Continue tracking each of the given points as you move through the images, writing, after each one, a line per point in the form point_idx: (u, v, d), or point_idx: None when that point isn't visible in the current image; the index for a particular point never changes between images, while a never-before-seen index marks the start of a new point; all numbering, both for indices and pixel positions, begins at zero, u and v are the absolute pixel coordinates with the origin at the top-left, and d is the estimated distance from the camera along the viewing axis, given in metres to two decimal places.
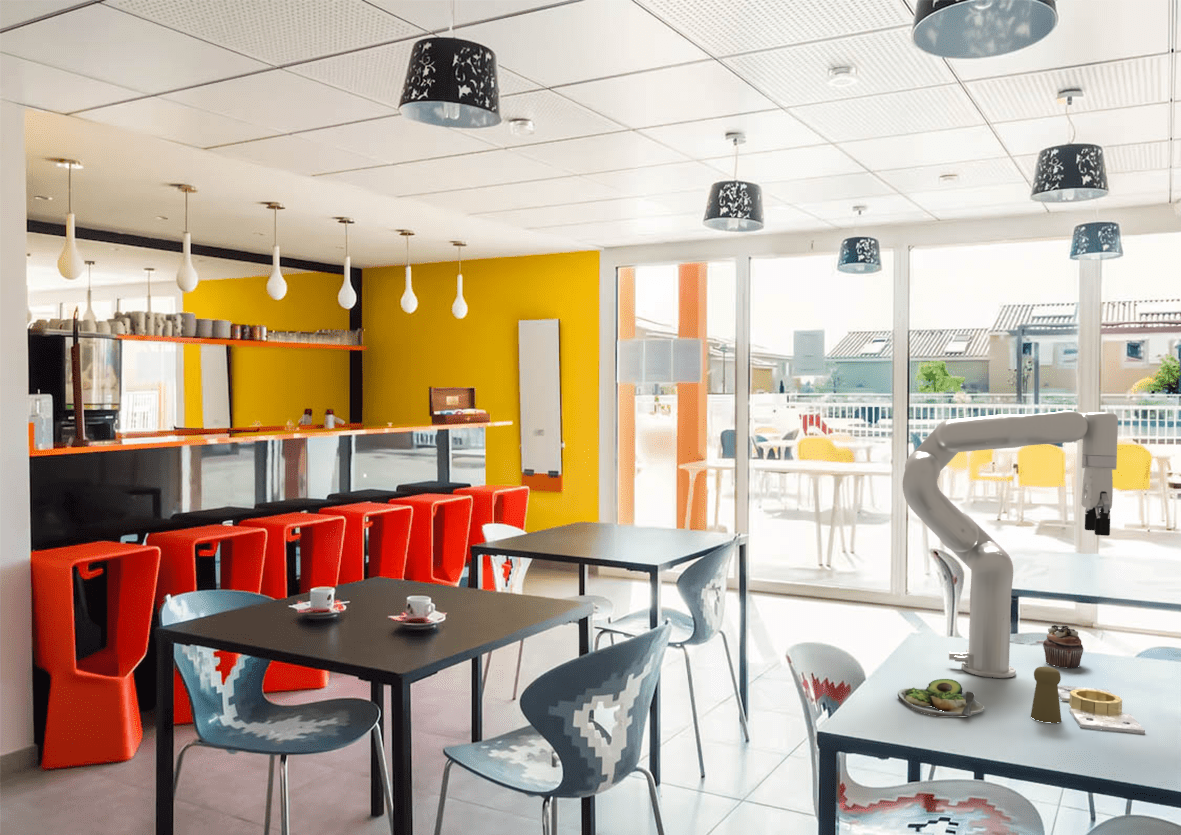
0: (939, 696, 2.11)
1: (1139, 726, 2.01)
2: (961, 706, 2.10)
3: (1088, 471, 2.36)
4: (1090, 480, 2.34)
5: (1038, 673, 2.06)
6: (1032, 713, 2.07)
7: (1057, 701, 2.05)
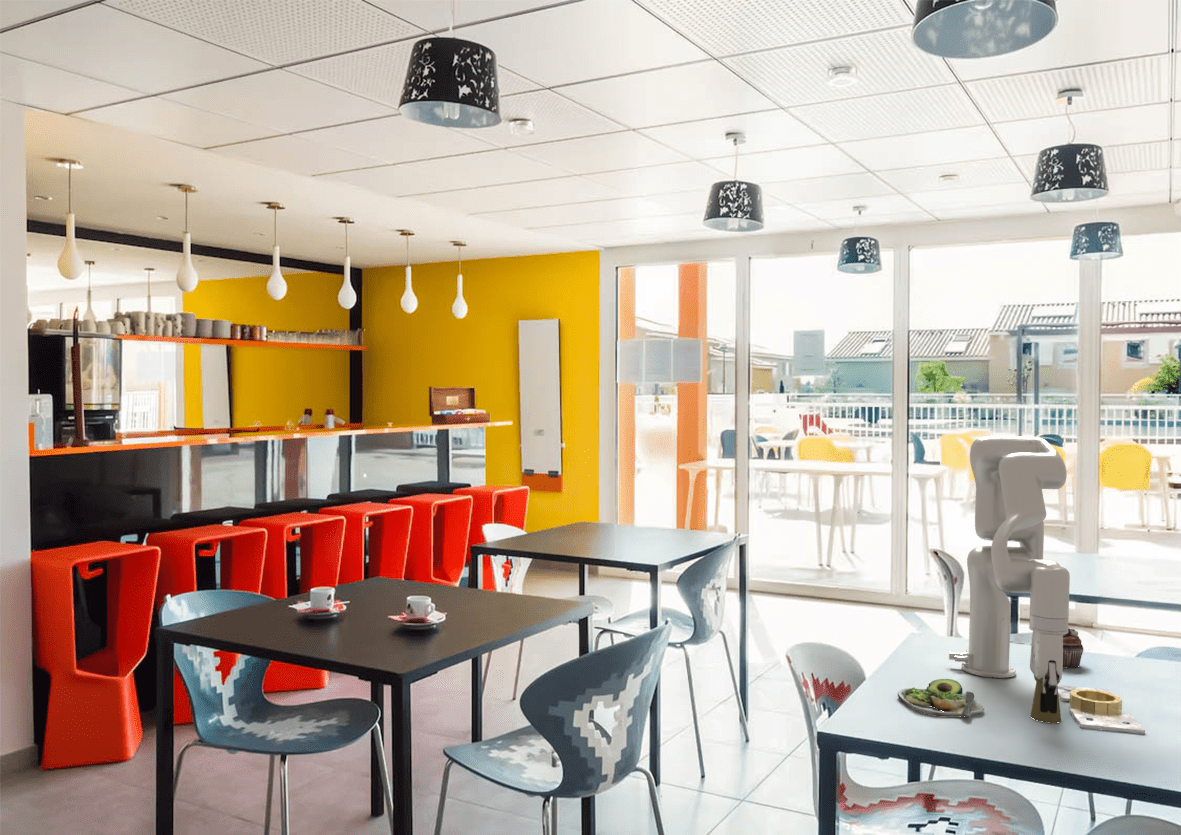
0: (939, 696, 2.11)
1: (1139, 726, 2.01)
2: (961, 706, 2.10)
3: (1036, 634, 2.06)
4: (1037, 646, 2.04)
5: None
6: (1032, 713, 2.07)
7: (1057, 701, 2.05)
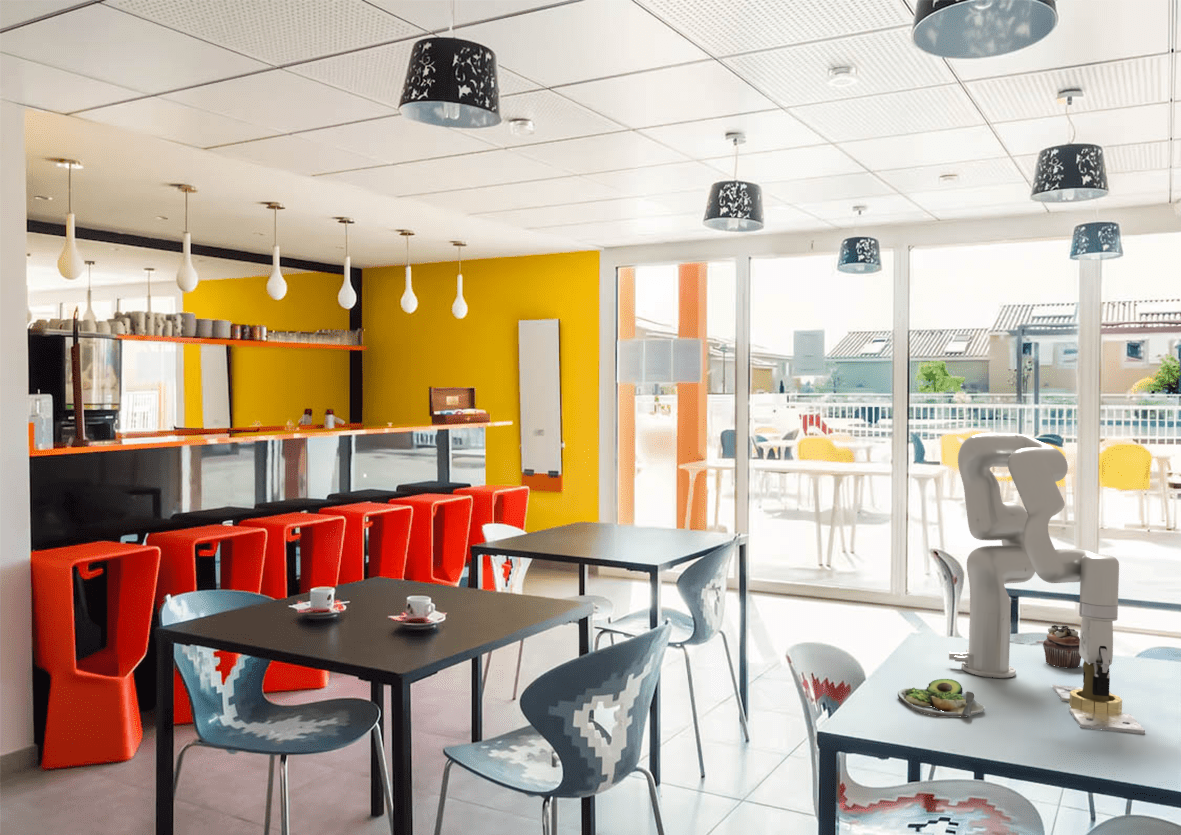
0: (939, 696, 2.11)
1: (1139, 726, 2.01)
2: (961, 706, 2.10)
3: (1086, 621, 2.14)
4: (1088, 632, 2.12)
5: (1087, 665, 2.14)
6: None
7: None
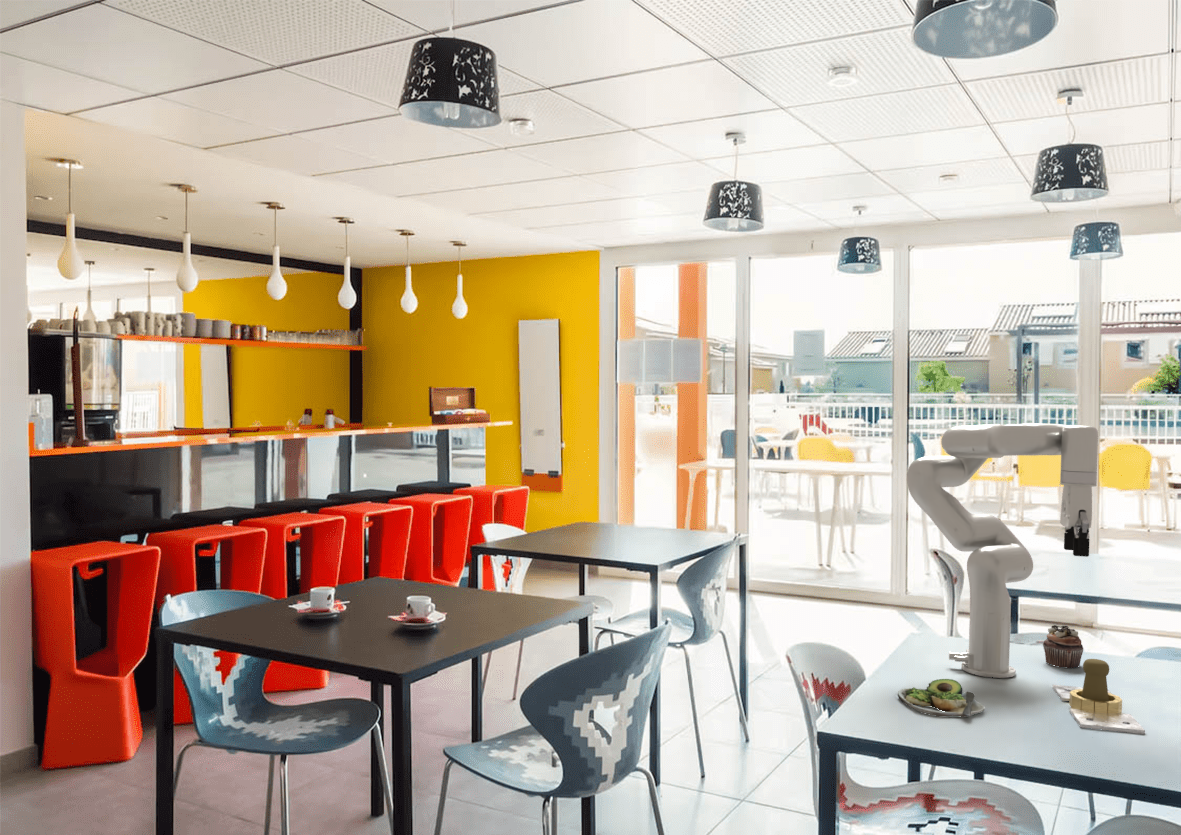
0: (939, 696, 2.11)
1: (1139, 726, 2.01)
2: (961, 706, 2.10)
3: (1066, 488, 2.23)
4: (1068, 497, 2.21)
5: (1087, 665, 2.14)
6: None
7: (1106, 692, 2.13)
